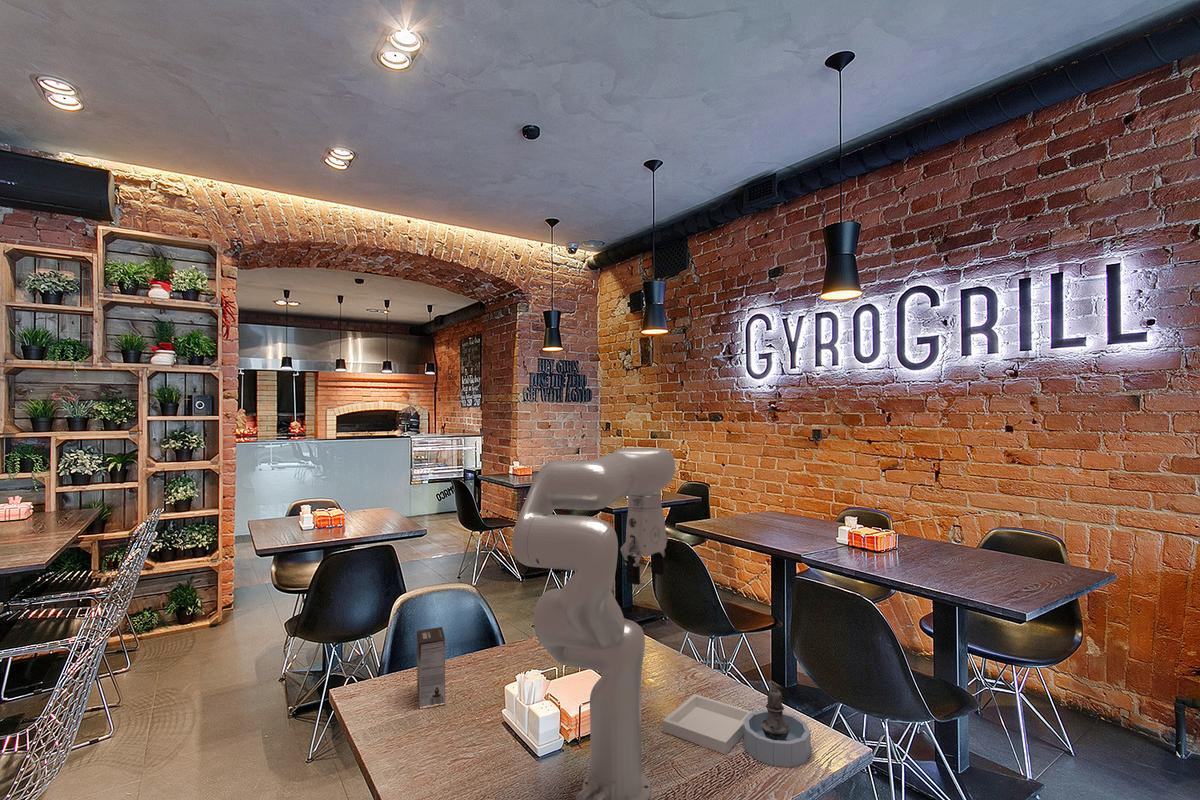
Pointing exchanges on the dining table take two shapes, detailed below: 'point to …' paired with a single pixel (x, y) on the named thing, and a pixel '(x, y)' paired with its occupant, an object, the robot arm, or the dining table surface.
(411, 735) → the dining table surface
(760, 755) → the bowl
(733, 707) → the parts tray
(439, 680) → the coffee box
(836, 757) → the dining table surface
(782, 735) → the dark brown turned figure
